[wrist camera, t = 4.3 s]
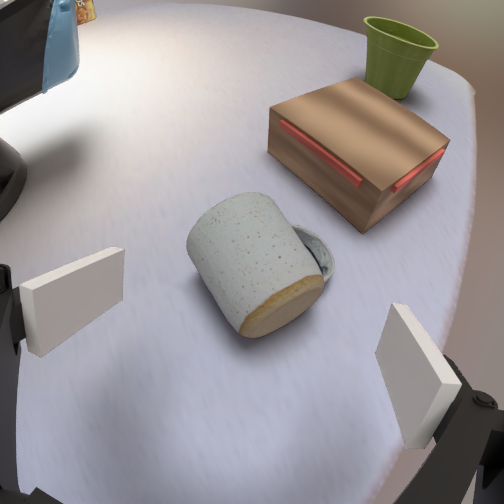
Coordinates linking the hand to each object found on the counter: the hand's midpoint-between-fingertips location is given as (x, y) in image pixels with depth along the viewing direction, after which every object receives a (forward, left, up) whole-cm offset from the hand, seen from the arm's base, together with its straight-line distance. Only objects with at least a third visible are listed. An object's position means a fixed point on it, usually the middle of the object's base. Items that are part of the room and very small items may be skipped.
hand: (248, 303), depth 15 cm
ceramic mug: (+5, +4, -10) cm, 12 cm away
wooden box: (+22, +9, -10) cm, 26 cm away
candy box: (+16, +111, -10) cm, 113 cm away
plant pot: (+42, +18, -10) cm, 47 cm away
